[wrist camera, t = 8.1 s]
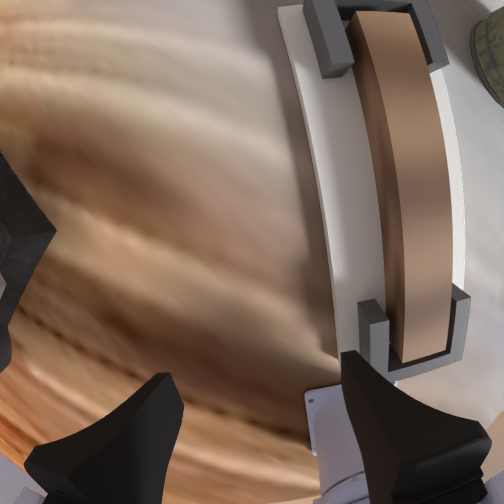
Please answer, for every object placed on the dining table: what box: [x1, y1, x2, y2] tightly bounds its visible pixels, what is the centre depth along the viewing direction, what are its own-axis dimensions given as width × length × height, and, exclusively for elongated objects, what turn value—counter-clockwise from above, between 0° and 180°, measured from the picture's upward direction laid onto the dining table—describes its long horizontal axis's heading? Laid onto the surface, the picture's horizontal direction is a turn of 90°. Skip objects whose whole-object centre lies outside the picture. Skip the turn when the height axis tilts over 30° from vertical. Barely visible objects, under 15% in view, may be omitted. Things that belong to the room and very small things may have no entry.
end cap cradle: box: [278, 0, 471, 383], centre depth 16 cm, size 25×10×4 cm, turn 12°
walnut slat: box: [345, 11, 453, 363], centre depth 15 cm, size 20×3×4 cm, turn 12°
